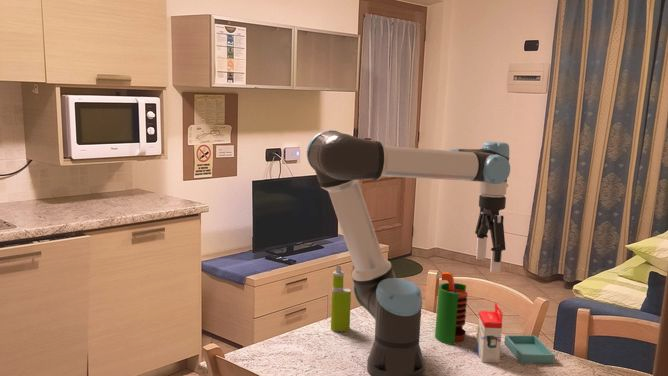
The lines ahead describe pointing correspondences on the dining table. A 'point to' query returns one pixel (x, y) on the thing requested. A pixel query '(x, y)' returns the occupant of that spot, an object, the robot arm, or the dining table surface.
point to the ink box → (489, 335)
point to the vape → (340, 303)
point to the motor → (451, 311)
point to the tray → (529, 349)
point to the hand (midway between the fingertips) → (487, 265)
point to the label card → (475, 335)
